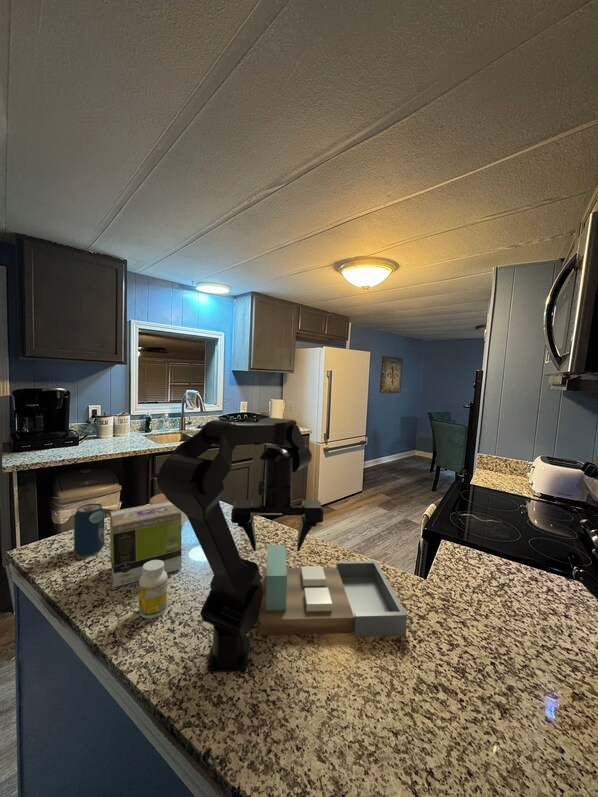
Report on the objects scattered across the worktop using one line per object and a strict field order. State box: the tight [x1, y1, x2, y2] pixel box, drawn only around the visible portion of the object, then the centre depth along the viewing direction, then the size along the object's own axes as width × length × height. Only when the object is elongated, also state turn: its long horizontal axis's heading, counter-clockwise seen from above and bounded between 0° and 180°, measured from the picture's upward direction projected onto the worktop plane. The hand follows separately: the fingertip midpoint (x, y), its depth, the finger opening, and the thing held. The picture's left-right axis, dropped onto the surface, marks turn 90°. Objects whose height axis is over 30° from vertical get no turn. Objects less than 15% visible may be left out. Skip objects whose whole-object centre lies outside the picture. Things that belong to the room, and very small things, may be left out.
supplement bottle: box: [138, 560, 168, 619], centre depth 68 cm, size 5×5×10 cm
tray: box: [336, 560, 408, 638], centre depth 73 cm, size 19×10×4 cm, turn 4°
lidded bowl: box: [149, 492, 188, 528], centre depth 106 cm, size 13×13×11 cm
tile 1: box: [300, 565, 326, 586], centre depth 76 cm, size 5×5×2 cm
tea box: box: [109, 501, 183, 588], centre depth 82 cm, size 15×10×15 cm, turn 123°
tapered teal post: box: [266, 544, 288, 610], centre depth 71 cm, size 12×4×7 cm, turn 4°
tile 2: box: [304, 588, 332, 611], centre depth 68 cm, size 5×5×2 cm
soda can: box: [73, 503, 106, 557], centre depth 90 cm, size 7×7×12 cm
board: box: [259, 567, 354, 636], centre depth 72 cm, size 17×18×3 cm
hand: (276, 550), depth 71 cm, fingers open, 9 cm apart
